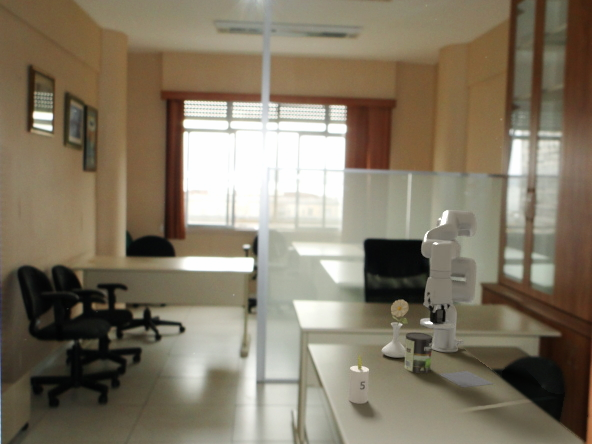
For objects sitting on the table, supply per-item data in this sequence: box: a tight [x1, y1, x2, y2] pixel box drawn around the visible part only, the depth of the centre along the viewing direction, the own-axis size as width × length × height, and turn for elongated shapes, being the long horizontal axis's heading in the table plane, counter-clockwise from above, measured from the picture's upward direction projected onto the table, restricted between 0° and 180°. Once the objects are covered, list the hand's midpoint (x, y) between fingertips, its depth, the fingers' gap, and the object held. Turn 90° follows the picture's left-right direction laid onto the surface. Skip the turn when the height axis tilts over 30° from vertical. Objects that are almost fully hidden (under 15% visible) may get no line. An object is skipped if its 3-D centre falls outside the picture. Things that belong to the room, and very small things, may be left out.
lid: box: [419, 308, 455, 330], centre depth 202 cm, size 13×13×6 cm
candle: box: [348, 354, 370, 404], centre depth 175 cm, size 6×6×15 cm
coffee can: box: [403, 331, 433, 374], centre depth 207 cm, size 10×10×14 cm
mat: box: [438, 370, 494, 389], centre depth 197 cm, size 14×14×1 cm
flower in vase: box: [381, 299, 410, 359], centre depth 224 cm, size 13×11×25 cm
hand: (437, 321), depth 202 cm, fingers closed on lid, 3 cm apart
